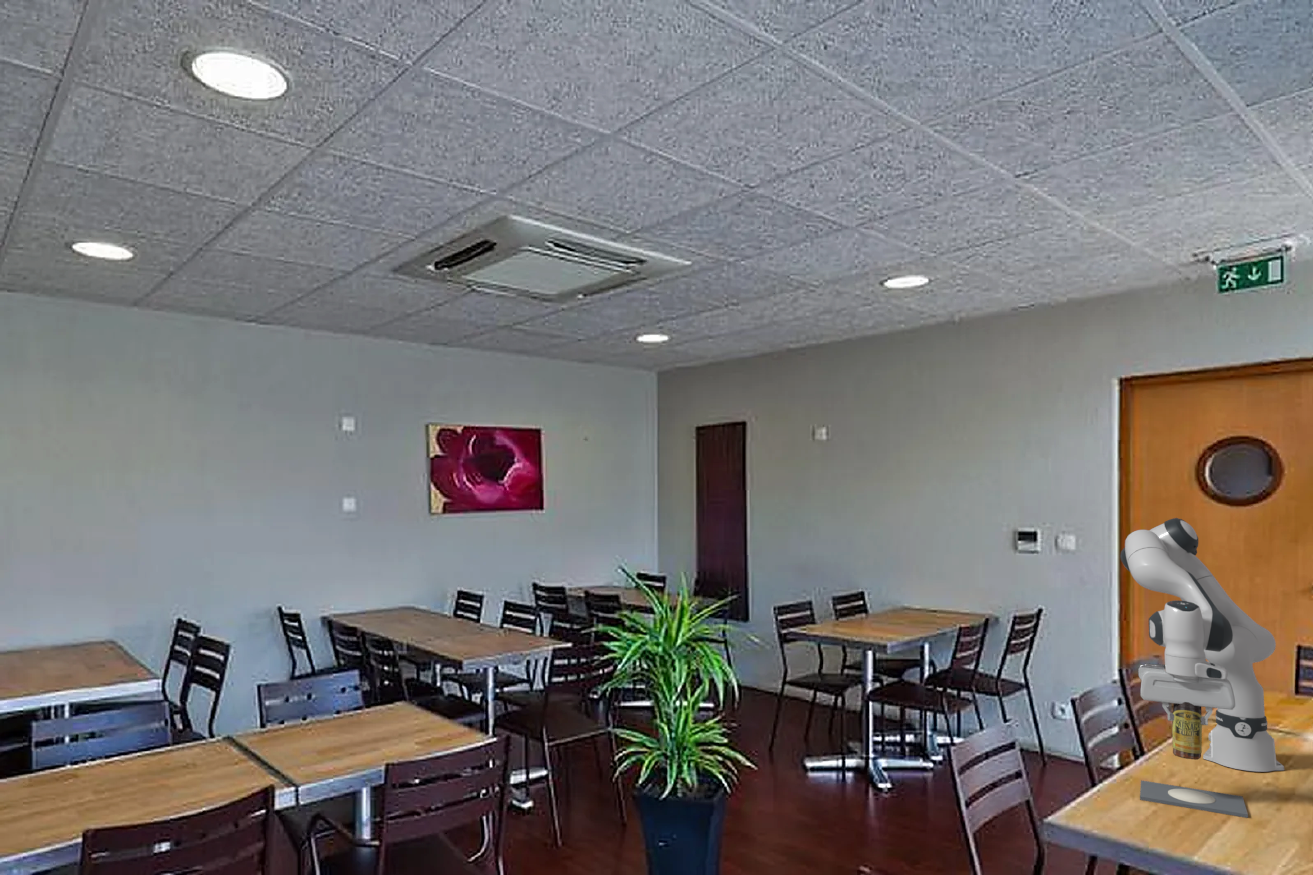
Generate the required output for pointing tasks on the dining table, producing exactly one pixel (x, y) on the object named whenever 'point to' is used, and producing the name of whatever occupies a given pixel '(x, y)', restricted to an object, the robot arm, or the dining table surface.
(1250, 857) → the dining table surface
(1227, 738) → the robot arm
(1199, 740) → the sauce bottle
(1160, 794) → the mat
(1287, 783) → the dining table surface
